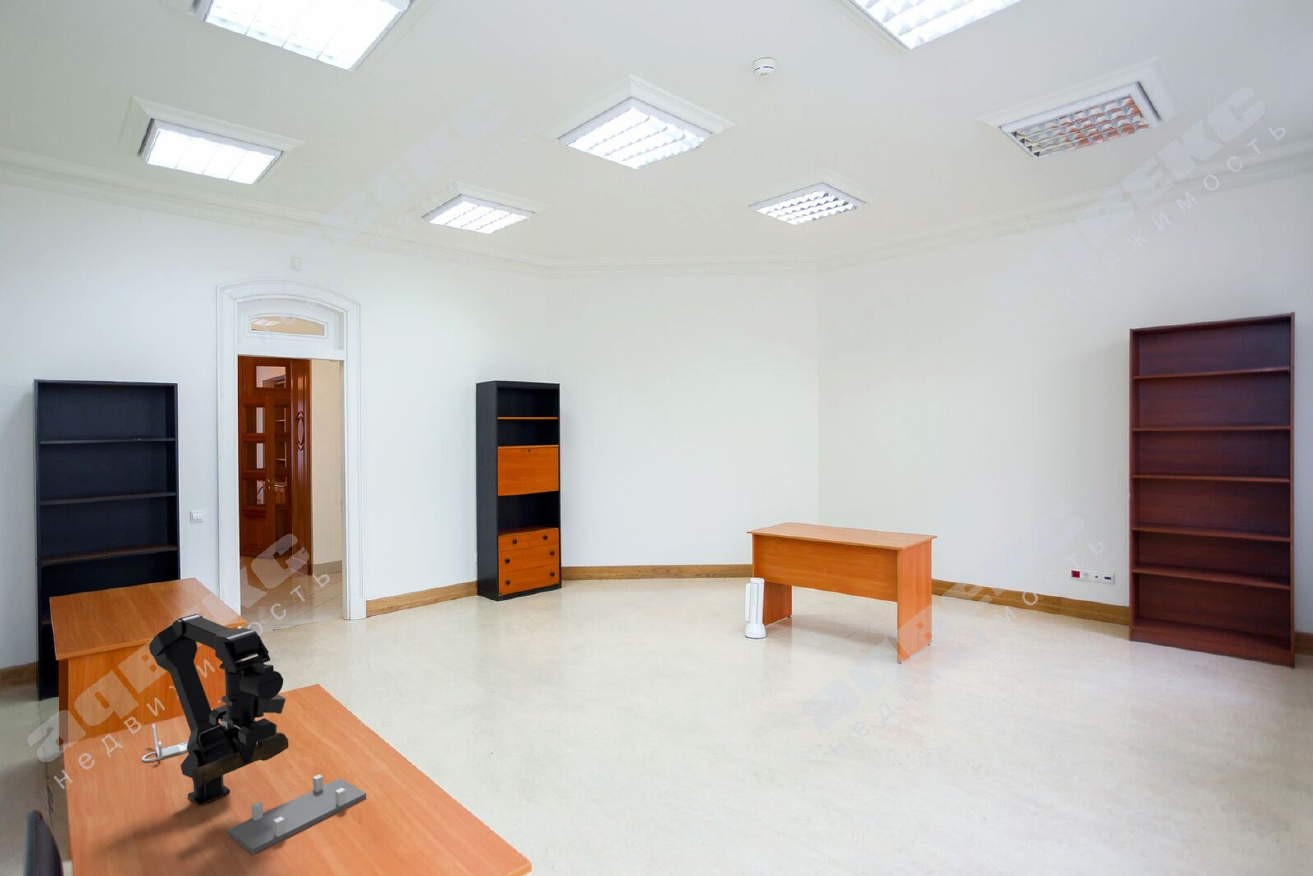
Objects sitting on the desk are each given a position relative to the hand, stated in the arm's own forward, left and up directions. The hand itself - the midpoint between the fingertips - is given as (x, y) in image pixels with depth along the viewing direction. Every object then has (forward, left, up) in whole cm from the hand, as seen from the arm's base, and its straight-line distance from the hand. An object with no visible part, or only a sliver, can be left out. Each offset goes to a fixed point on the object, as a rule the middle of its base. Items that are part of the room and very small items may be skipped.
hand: (244, 760), depth 150 cm
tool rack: (+12, +6, -11) cm, 17 cm away
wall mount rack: (-45, +3, -12) cm, 46 cm away
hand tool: (0, 0, -2) cm, 2 cm away
